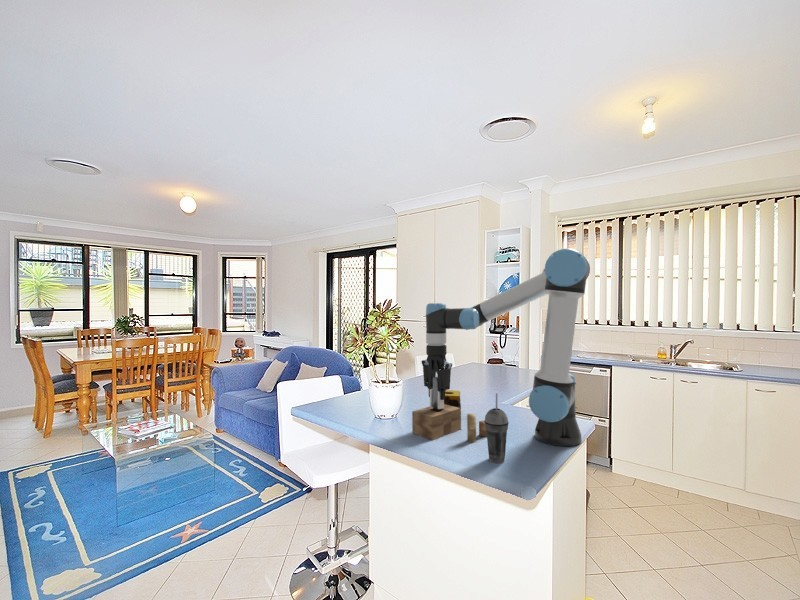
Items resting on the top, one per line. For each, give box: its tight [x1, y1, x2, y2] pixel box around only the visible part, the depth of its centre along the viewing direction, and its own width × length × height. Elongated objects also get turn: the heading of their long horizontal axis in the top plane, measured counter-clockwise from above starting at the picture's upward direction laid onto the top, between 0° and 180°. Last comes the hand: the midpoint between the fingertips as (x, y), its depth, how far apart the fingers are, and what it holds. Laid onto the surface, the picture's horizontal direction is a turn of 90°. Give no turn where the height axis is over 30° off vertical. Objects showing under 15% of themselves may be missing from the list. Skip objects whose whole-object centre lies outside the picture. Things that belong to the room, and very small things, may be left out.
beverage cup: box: [483, 393, 510, 464], centre depth 118 cm, size 7×7×20 cm
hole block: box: [411, 404, 462, 441], centre depth 144 cm, size 10×16×8 cm, turn 134°
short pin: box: [478, 420, 487, 438], centre depth 139 cm, size 3×3×5 cm
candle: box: [444, 389, 462, 409], centre depth 163 cm, size 10×10×10 cm
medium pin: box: [466, 413, 477, 443], centre depth 134 cm, size 3×3×9 cm
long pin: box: [433, 376, 441, 412], centre depth 144 cm, size 3×3×16 cm
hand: (436, 407), depth 144 cm, fingers open, 3 cm apart
